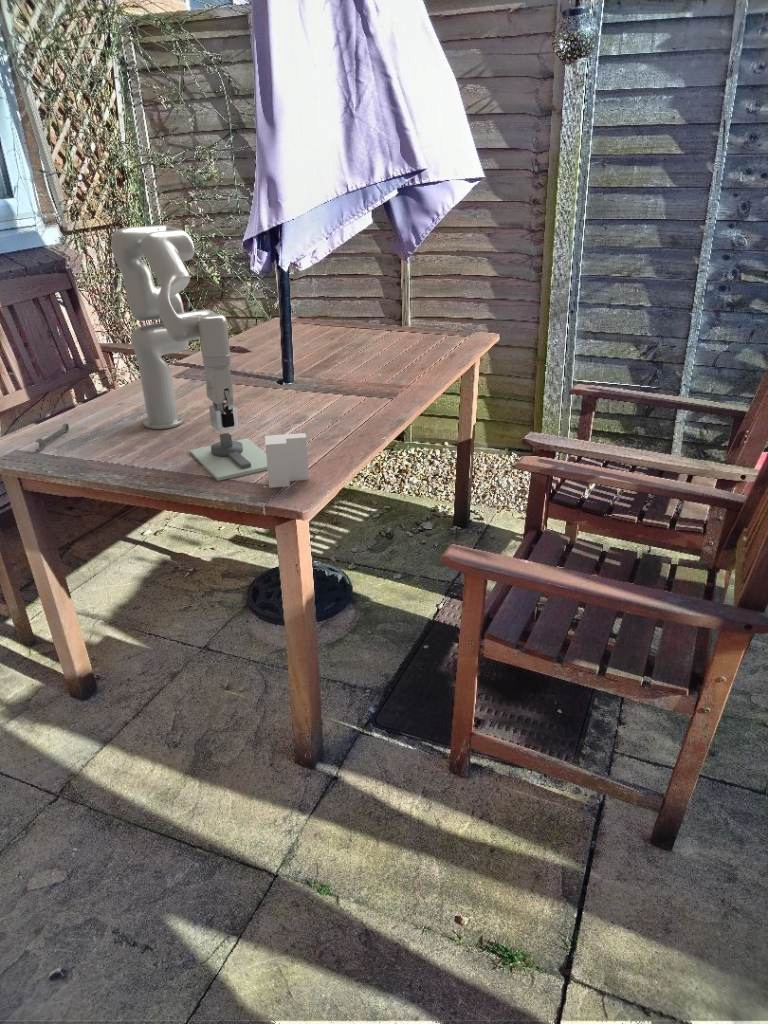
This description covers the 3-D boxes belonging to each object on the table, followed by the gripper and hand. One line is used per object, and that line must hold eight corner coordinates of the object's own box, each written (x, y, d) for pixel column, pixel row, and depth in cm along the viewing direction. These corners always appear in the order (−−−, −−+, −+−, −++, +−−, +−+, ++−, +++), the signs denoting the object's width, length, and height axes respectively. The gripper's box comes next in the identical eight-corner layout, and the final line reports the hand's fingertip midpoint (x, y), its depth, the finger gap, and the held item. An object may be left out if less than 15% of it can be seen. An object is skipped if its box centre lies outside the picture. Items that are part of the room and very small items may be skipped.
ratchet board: (190, 453, 207) (187, 433, 204) (247, 441, 215) (245, 422, 213) (217, 481, 189) (215, 459, 186) (279, 467, 197) (278, 446, 194)
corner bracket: (269, 487, 184) (265, 444, 179) (267, 471, 194) (264, 429, 189) (310, 484, 186) (307, 441, 181) (306, 468, 196) (304, 427, 191)
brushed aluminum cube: (211, 425, 203) (208, 405, 200) (231, 422, 205) (229, 402, 203) (218, 431, 198) (215, 410, 195) (238, 427, 201) (236, 407, 198)
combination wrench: (64, 420, 225) (31, 441, 207) (68, 420, 225) (35, 441, 207) (67, 431, 227) (34, 453, 209) (71, 432, 227) (38, 453, 209)
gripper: (193, 356, 198) (202, 418, 206) (214, 369, 185) (222, 434, 193) (219, 353, 202) (226, 413, 210) (241, 365, 189) (248, 429, 196)
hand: (224, 423), depth 201 cm, fingers closed on brushed aluminum cube, 6 cm apart
